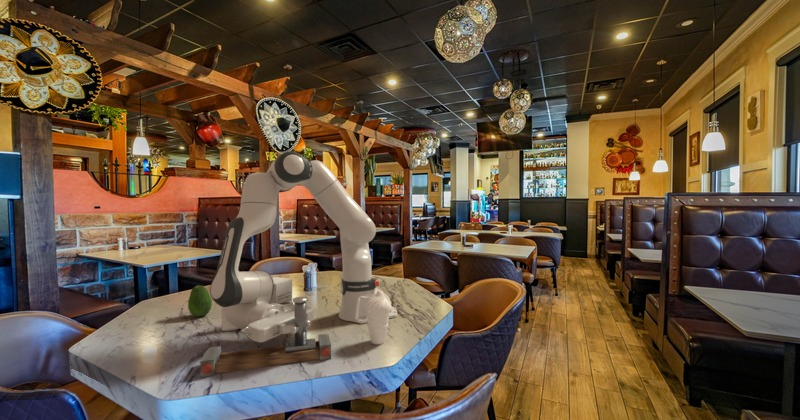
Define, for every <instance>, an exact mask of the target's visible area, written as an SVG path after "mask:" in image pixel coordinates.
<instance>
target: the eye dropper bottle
mask: <svg viewBox="0 0 800 420" xmlns="http://www.w3.org/2000/svg"><path fill="white" fill-rule="evenodd" d="M226 308H227V307H221V330H222V331H224V332H230V331H235V330H236V331H237V330H239V329H240V328H238V327H236V326H233V325H232V324H231V323H229V321H228V320H227V318H226V315H225V311H226Z"/></svg>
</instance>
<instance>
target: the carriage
mask: <svg viewBox="0 0 800 420" xmlns="http://www.w3.org/2000/svg"><path fill="white" fill-rule="evenodd" d="M292 302H293V305H294V320H295V325H296V326H298V327H299V329H298V330H299V331H298V332H297V333H295V334H294V340H291V341H286V342H285V345H286V347H285V351H286V353H290V352H298V351H306V350H313V349H316V342H315V341H316V338H310V339H309V338H308V337H307V328H306V306H307V302H308V297H307V296H296V297H294V298H293V297H292ZM307 338H308V339H307Z"/></svg>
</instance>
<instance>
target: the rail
mask: <svg viewBox="0 0 800 420" xmlns="http://www.w3.org/2000/svg"><path fill="white" fill-rule="evenodd" d="M317 338H318V340H315V342H316V349H313V350H306V351H298V352H290V353H286V351H285V347H286V344H283V345H276V346H275V345H274V346H269V347H268V346H267V347H260V348H253V349H252V348H251V349H244V350H236V351H228V352H222V346H213V347H208V348H207V350H206V352H205V353H204V355H203V356H202V358H201V360H200V361H199V362H200V364H199V365H200V378H204V377H205V378H206V377H213V376H215V374H219V373H228V372H235V371H241V370H248V369H256V368H263V367H269V366H276V365H283V364H285V365H286V364H291V363H299V362H305V361H307V362H308V361H311V360H312V361H313V360H319V361H323V360H324V361H325V360H330V359H331V360H332V341H331V339H330V334H329V333H323V334H322V333H321V334H318V336H317Z"/></svg>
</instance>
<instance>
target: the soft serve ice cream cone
mask: <svg viewBox="0 0 800 420" xmlns="http://www.w3.org/2000/svg"><path fill="white" fill-rule="evenodd" d="M384 293H385V292H384V291H382V290H381V291H378V292H377V293H376V295H374V296H373V297H371V298H370V299H369V300H367V301H366V304H365V305H364V306H365V310H366V315H367V323H366V324H367V325H366V326H367V328H368V333H369V337H370V342H371V344H372V345H382V344H385V342H386V337H387V332H388V327H389V319H390V318H389V314H390V313H389V312H390V310H391V306H392V303H391V304H390V302H389V301H388V300H387V299H386V298H385V295H384Z"/></svg>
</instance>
